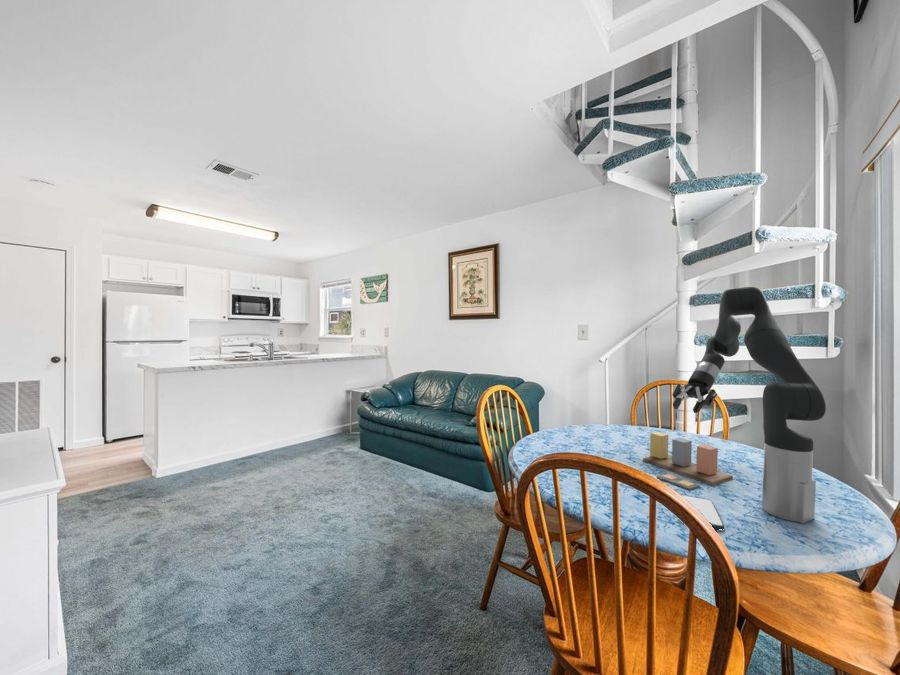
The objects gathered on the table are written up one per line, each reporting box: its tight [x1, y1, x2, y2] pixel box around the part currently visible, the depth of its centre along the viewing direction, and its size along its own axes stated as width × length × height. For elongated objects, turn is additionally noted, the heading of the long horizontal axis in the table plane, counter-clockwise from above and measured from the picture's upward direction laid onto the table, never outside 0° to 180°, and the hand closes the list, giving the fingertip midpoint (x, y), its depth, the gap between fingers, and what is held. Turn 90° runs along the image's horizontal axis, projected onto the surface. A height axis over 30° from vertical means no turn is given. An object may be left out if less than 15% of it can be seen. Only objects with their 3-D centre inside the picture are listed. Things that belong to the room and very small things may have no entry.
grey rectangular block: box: [671, 437, 693, 467], centre depth 127 cm, size 4×4×8 cm
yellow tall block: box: [649, 431, 669, 459], centre depth 134 cm, size 4×4×8 cm
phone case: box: [681, 494, 725, 532], centre depth 96 cm, size 9×2×16 cm
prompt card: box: [656, 472, 701, 491], centre depth 115 cm, size 10×5×1 cm, turn 27°
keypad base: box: [642, 454, 734, 486], centre depth 126 cm, size 23×11×1 cm, turn 27°
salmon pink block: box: [695, 443, 719, 475], centre depth 120 cm, size 4×4×8 cm
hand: (684, 409), depth 140 cm, fingers open, 6 cm apart
